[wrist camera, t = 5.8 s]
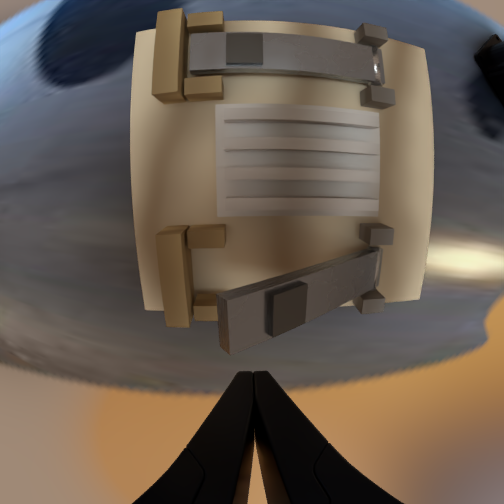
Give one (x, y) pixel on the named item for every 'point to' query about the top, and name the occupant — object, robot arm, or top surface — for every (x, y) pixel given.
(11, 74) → the top surface
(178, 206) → the heatsink board
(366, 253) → the strap
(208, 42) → the strap
